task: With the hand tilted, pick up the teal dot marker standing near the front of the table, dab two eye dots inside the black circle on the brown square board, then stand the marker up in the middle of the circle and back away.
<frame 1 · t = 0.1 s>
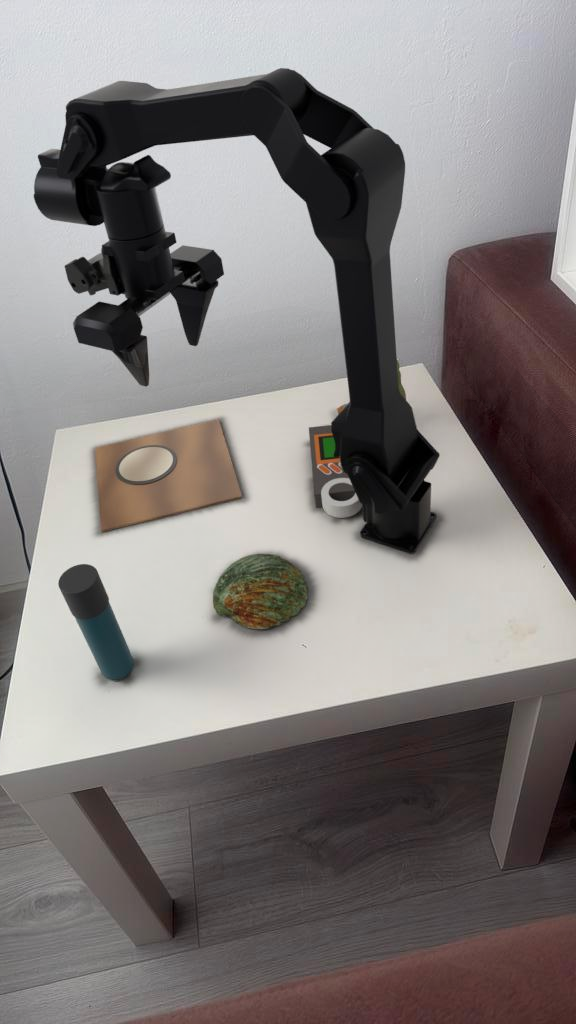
hand: (169, 364, 84), 15 cm above the table, tool pointing down, fingers open, 9 cm apart
brown square board: (164, 472, 93), on the table
dot marker: (118, 668, 71), on the table
electronic device: (340, 479, 89), on the table
pear: (384, 424, 96), on the table
seashell: (260, 595, 76), on the table
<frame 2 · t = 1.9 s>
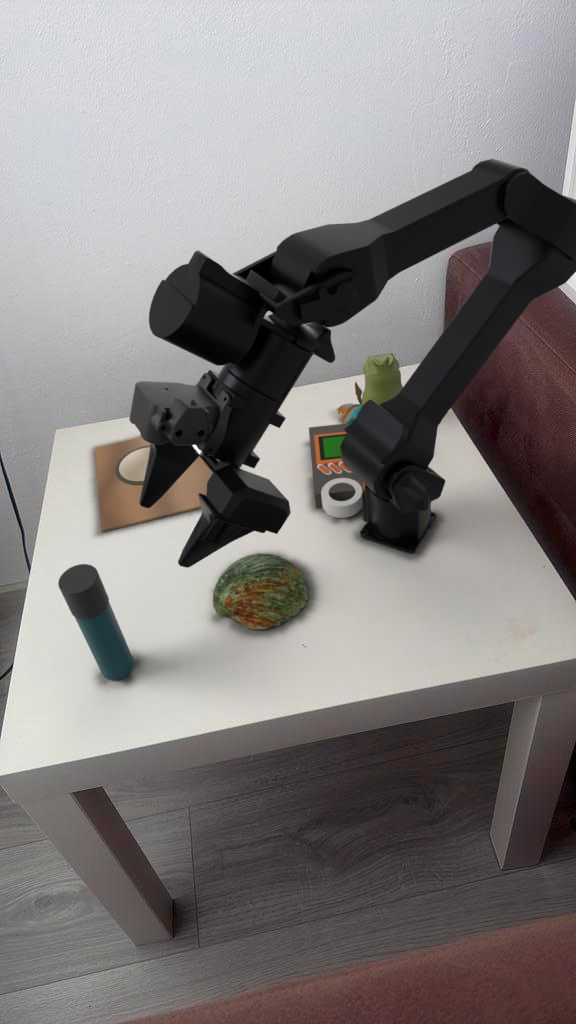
hand: (162, 534, 65), 13 cm above the table, tool tilted 45°, fingers open, 9 cm apart
nothing on the table moved.
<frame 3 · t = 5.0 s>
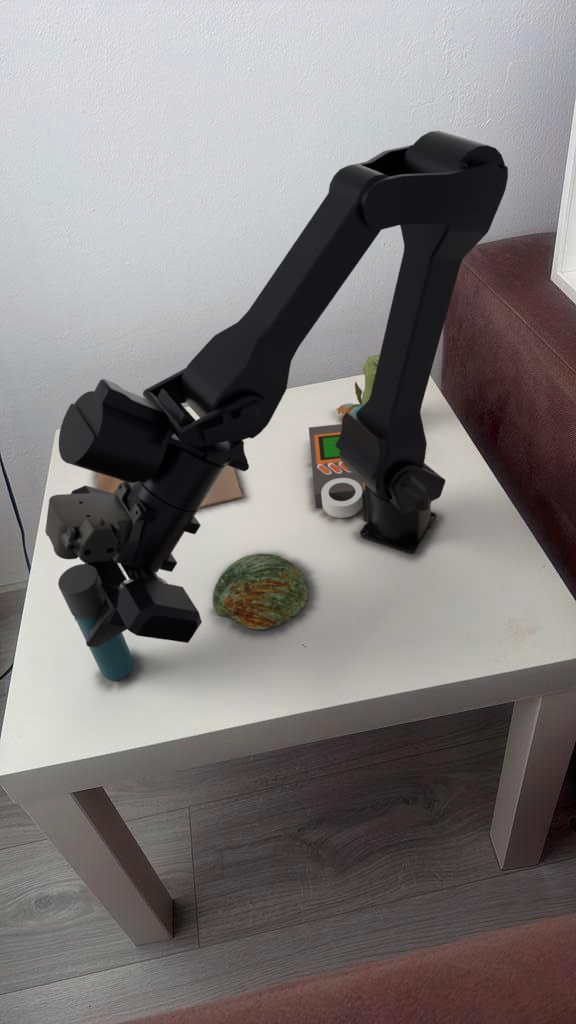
hand: (84, 632, 66), 7 cm above the table, tool tilted 45°, fingers closed on dot marker, 3 cm apart
dot marker: (118, 669, 71), on the table, touching gripper
everything else where it was.
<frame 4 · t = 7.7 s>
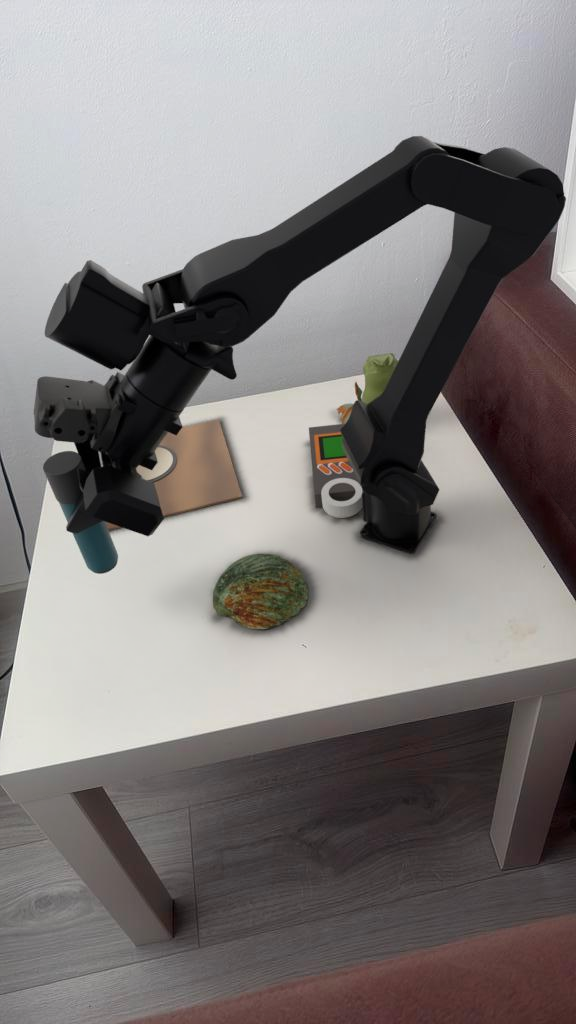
hand: (69, 519, 69), 13 cm above the table, tool tilted 45°, fingers closed on dot marker, 3 cm apart
dot marker: (103, 563, 74), point 6 cm above the table, touching gripper
everything else where it was.
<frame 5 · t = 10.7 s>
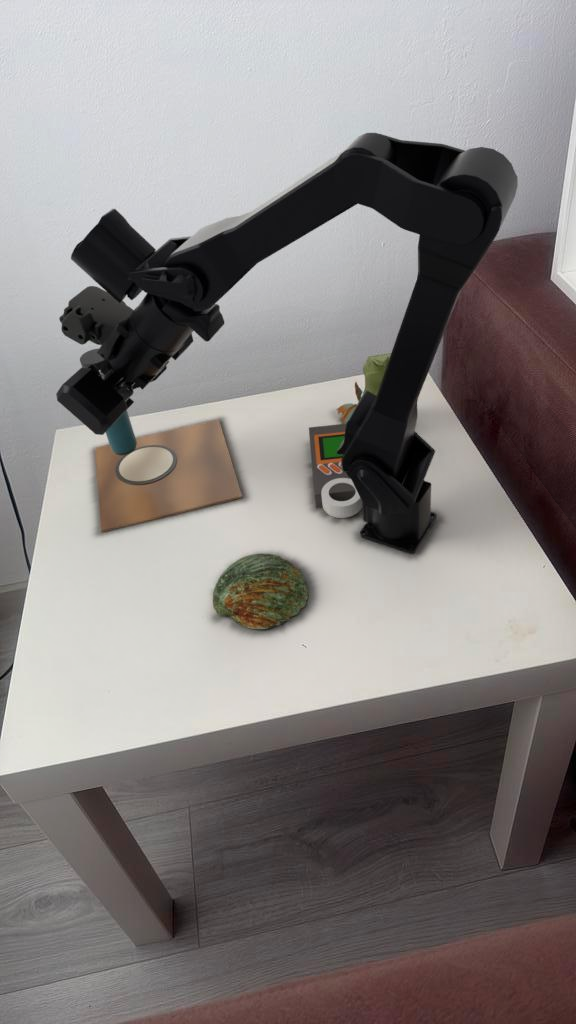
hand: (101, 402, 87), 11 cm above the table, tool tilted 45°, fingers closed on dot marker, 3 cm apart
dot marker: (125, 448, 91), point 4 cm above the table, touching gripper
everything else where it was.
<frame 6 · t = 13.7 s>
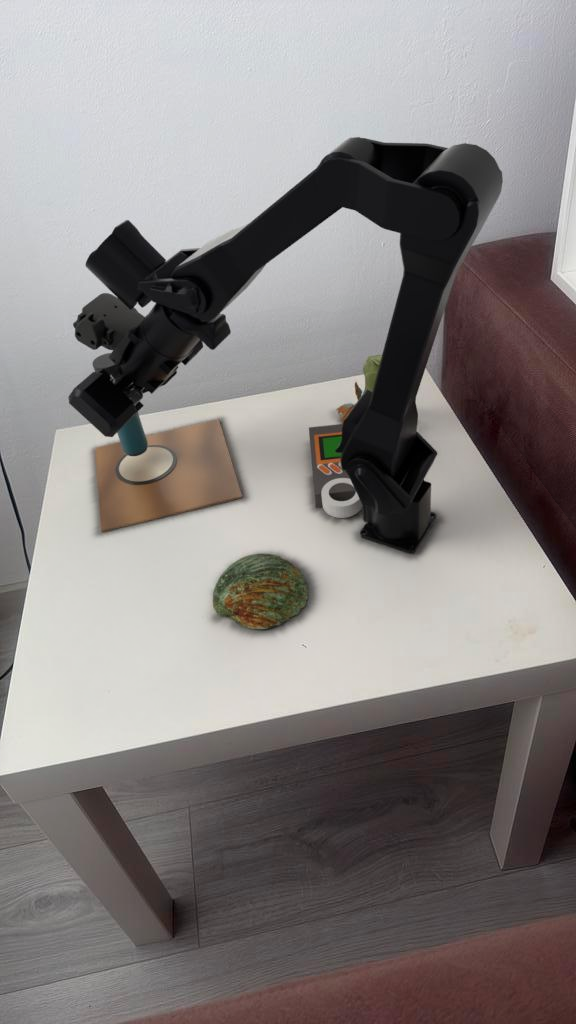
hand: (113, 404, 90), 9 cm above the table, tool tilted 45°, fingers closed on dot marker, 3 cm apart
dot marker: (136, 449, 94), point 2 cm above the table, touching gripper
everything else where it was.
when the fingers open (7 cm above the table, at t = 16.3 s): dot marker stays where it is, resting on brown square board.
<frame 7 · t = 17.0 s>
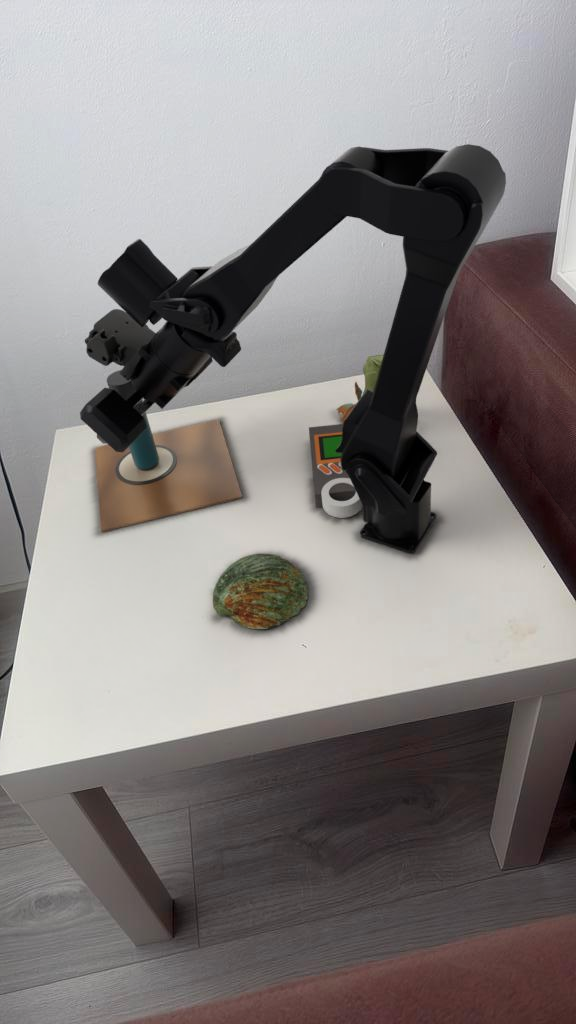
hand: (123, 418, 90), 7 cm above the table, tool tilted 45°, fingers open, 9 cm apart
dot marker: (147, 464, 94), resting on brown square board
everything else where it was.
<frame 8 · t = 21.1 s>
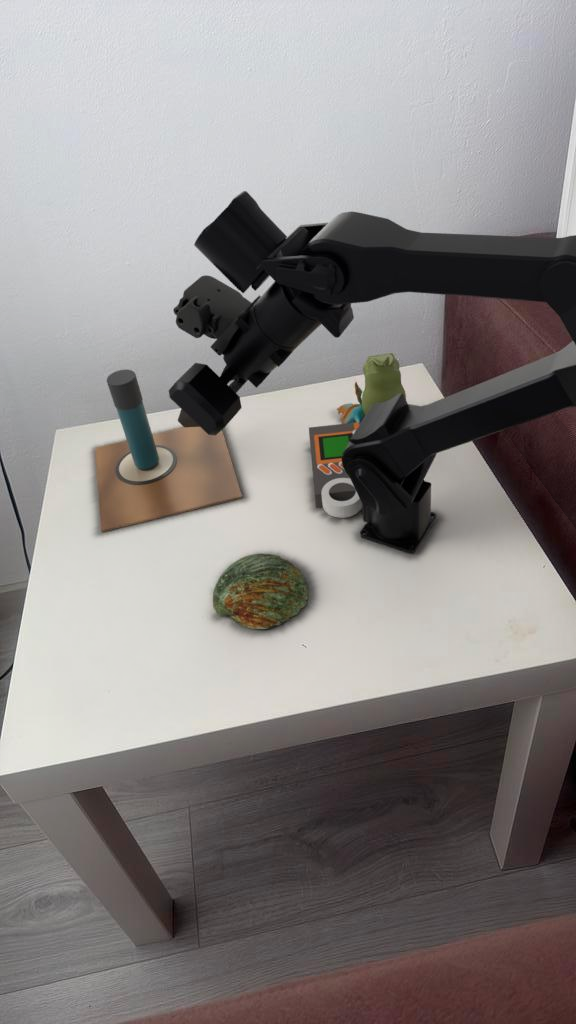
hand: (203, 399, 82), 13 cm above the table, tool tilted 45°, fingers open, 9 cm apart
nothing on the table moved.
at the end: dot marker 0.3 cm from the target spot on the brown square board, point 0.5 cm above the brown square board's base; dot marker tilted 0°; the gripper is holding nothing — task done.
